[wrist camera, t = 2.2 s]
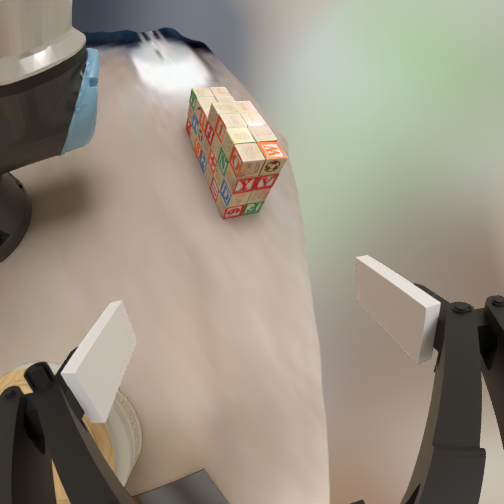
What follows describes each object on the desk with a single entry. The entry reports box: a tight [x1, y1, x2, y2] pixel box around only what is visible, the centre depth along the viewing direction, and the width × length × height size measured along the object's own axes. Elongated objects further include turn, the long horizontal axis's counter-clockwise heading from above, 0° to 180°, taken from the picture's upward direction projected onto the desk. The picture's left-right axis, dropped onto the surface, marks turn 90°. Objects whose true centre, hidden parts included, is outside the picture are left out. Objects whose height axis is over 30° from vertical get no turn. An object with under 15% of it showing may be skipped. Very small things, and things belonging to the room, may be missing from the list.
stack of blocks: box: [186, 87, 288, 219], centre depth 42 cm, size 21×6×12 cm, turn 24°
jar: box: [0, 361, 142, 504], centre depth 17 cm, size 13×13×18 cm
